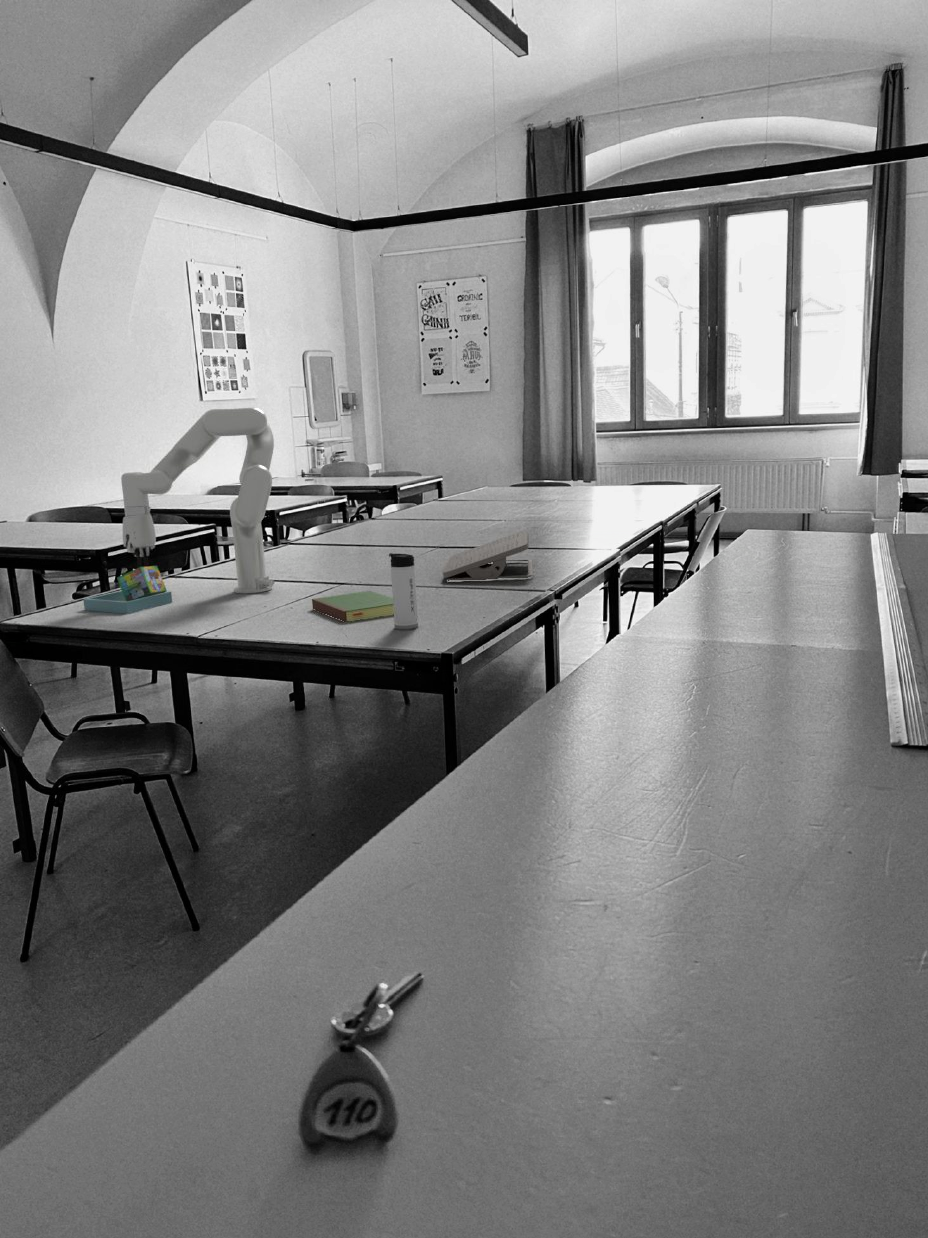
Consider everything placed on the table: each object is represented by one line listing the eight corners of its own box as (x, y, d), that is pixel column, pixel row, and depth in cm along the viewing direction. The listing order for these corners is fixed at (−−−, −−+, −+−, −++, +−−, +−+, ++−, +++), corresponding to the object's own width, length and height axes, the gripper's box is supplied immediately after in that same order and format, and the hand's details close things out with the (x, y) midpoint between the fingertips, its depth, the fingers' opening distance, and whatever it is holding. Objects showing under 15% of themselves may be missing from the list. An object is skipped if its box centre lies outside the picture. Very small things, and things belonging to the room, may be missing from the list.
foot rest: (450, 566, 365) (449, 532, 363) (532, 563, 363) (531, 529, 360) (441, 585, 327) (439, 547, 325) (532, 582, 325) (531, 543, 322)
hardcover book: (312, 611, 294) (311, 599, 293) (370, 602, 303) (369, 590, 302) (346, 625, 273) (345, 611, 272) (407, 615, 282) (406, 602, 281)
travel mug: (393, 625, 266) (388, 552, 262) (417, 624, 267) (413, 550, 262) (393, 630, 260) (388, 555, 256) (418, 629, 261) (414, 554, 256)
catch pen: (172, 602, 317) (171, 591, 316) (128, 613, 301) (126, 602, 300) (129, 599, 326) (128, 588, 325) (84, 610, 311) (83, 599, 310)
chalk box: (157, 565, 320) (135, 566, 306) (168, 591, 320) (146, 593, 306) (133, 575, 322) (109, 577, 307) (143, 602, 322) (120, 604, 307)
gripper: (146, 509, 322) (152, 564, 326) (110, 514, 310) (117, 571, 313) (163, 509, 319) (169, 565, 323) (127, 514, 306) (134, 572, 310)
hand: (143, 568), depth 318 cm, fingers closed
